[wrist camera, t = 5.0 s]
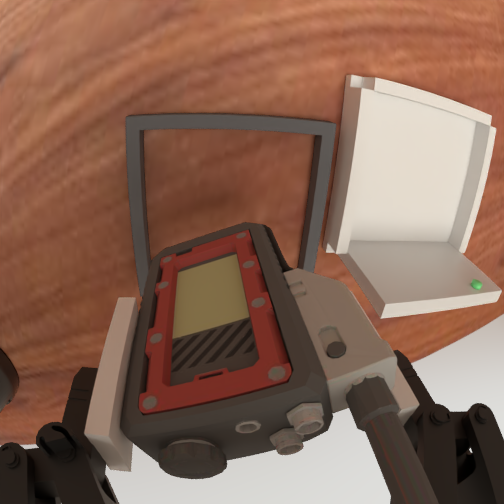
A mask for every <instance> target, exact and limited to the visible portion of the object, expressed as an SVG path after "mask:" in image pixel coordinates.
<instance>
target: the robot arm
mask: <svg viewBox="0 0 504 504" xmlns="http://www.w3.org/2000/svg"><path fill="white" fill-rule="evenodd" d="M350 292H351V293H352V291H350ZM352 295H353V296H354V294H353V293H352ZM354 298H355V296H354ZM355 300H356V301H357V299H356V298H355ZM357 303H358V304H359V302H358V301H357ZM359 306H360V307H361V305H360V304H359ZM361 309H362V307H361ZM362 311H363V312H364V310H363V309H362ZM364 314H365V315H366V313H365V312H364ZM138 317H139V314H138V308H137V302H136V297H119V298H118V301H117V304H116V307H115V311H114V314H113V317H112V321H111V324H110V327H109V331H108V334H107V338H106V342H105V345H104V349H103V353H102V356H101V360H100V364H99V368H88V367H82V368H81V369H80V370H79V372H78V373H77V374H76V375H75V377H74V379H73V383H72V386H71V391H70V393H69V397H68V398H69V400H68V401H67V404H66V408H65V412H64V416H63V420H62V423H60V422H51V423H48V424H46V425H44V426H43V427H42V428H41V429H40V430H39V431H38V434H37V436H36V445H37V446H38V447H39V448H34V449H24V448H23V447H21V446H20V445H19V444H17V443H13V442H10V443H5V444H4V445H2V446H1V447H0V504H61V503H62V504H119V502H118V500H117V498H116V496H115V494H114V491H113V489H112V487H111V484H110V482H109V480H108V478H107V476H106V475H105V468H106V465H107V466H108V467H109V468H110V469H111V470H119V471H131V460H132V446H133V442H131V441H130V440H129V439H128V438H127V437H126V436H125V435H124V433H123V432H122V430H121V429H120V422H121V414H122V407H123V400H124V393H125V386H126V380H127V374H128V368H129V362H130V356H131V351H132V345H133V340H134V335H135V333H136V326H137V323H138V321H137V320H138ZM366 317H367V319H368V320H369V318H368V316H367V315H366ZM369 322H370V323H371V321H370V320H369ZM371 325H372V327H373V328H374V326H373V324H372V323H371ZM374 330H375V331H376V329H375V328H374ZM376 333H377V331H376ZM377 335H378V336H379V334H378V333H377ZM379 338H381V337H380V336H379ZM393 352H394V354H395V355H396V357H397V367H396V376H395V385H394V387H393V389H392V390H390V391H391V393H392V395H393V397H394V398H395V400H396V402H397V404H398V406H399V411H398V414H397V415H398V417H399V419H400V421H401V423H402V425H403V427H404V429H405V431H406V433H407V435H408V437H409V439H410V441H411V443H412V445H413V448H414V450H415V452H416V454H417V456H418V458H419V460H420V463H421V465H422V467H423V469H424V471H425V473H426V476H427V478H428V480H429V482H430V485H431V487H432V489H433V491H434V494H435V496H436V498H437V500H438V503H439V504H504V439H503V437H502V434H501V432H500V429H499V427H498V424H497V422H496V419H495V417H494V414H493V412H492V411H491V409H490V408H489V407H487V406H486V405H484V404H482V403H477V404H474V405H472V406H471V408H470V409H469V410H468V411H467V412H450V411H449V410H448V409H447V408H446V407H445V406H443V405H440V404H435V402H434V401H433V399H432V398H431V396H430V394H429V393H428V391H427V389H426V388H425V386H424V384H423V383H422V381H421V380H420V378H419V376H417V373H416V371H415V370H414V369H413V366H412V365H411V363H410V362H409V360H408V358H407V357H406V356H404V355H403V354H402V353H401V352H400V351H398V350H395V351H393ZM18 386H19V380H18V376H17V373H16V371H15V369H14V367H13V365H12V364H11V362H10V361H9V359H8V358H7V357H6V355H5V354H4V353H3V352H2V351H1V350H0V412H1V411H2V409H3V408H4V406H5V405H6V404H9V403H10V402H11V401H12V400H13V398H14V396H15V394H16V391H17V389H18ZM470 448H471V449H472V453H471V452H470V451H469V449H470ZM390 504H394V502H393V500H392V497H391V501H390Z"/></svg>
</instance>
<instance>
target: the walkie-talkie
mask: <svg viewBox="0 0 504 504" xmlns="http://www.w3.org/2000/svg"><path fill="white" fill-rule="evenodd" d="M149 268H150V269H149V271H148V276H147V281H146V283H145V285H146V286H145V288H144V294H143V296H142V302H141V304H140V305H141V308H140V310H139V317H138V320H137V321H138V323H137V326H136V333H135V335H134V340H133V345H132V351H131V356H130V362H129V368H128V374H127V380H126V386H125V393H124V400H123V407H122V414H121V422H120V429H121V430H122V432H123V433H124V435H125V436H126V437H127V438H128V439H129V440H130V441H131V442H133V443H134V444H135V445H136V446H137V447H139V448H140V449H141V450H143V451H144V452H145V453H146V454H148V455H149V456H150V457H152V458H153V459H154V460H156V461H157V462H158V463H159V466H160V468H161V469H163V470H164V471H165V472H166V473H168V474H170V475H172V476H176V477H180V478H188V479H204V478H210V477H213V476H215V475H217V474H220V473H222V472H223V470H225V469H226V467H227V460H231V459H236V458H241V457H246V456H251V455H255V454H259V453H264V452H268V451H272V450H277V452H278V454H280V455H289V454H293V453H296V452H298V451H300V450H302V449H303V443H302V442H305V441H308V440H310V439H312V438H314V437H316V436H318V435H320V434H322V433H324V432H326V431H328V429H329V426H330V424H331V421H332V419H333V414H332V413H335V412H338V411H341V410H344V409H347V408H349V409H350V411H351V413H352V416H353V418H354V421H355V423H356V426H357V428H358V429H360V430H362V431H365V432H366V434H367V437H368V439H369V442H370V444H371V447H372V449H373V451H374V454H375V457H376V459H377V461H378V464H379V466H380V469H381V472H382V474H383V477H384V479H385V482H386V484H387V487H388V489H389V492H390V494H391V497H392V500H393V502H394V504H439V503H438V500H437V498H436V496H435V494H434V491H433V489H432V487H431V485H430V482H429V480H428V478H427V476H426V473H425V471H424V469H423V467H422V465H421V463H420V460H419V458H418V456H417V454H416V452H415V450H414V448H413V445H412V443H411V441H410V439H409V437H408V435H407V433H406V431H405V429H404V427H403V425H402V423H401V421H400V419H399V417H398V415H397V414H398V411H399V406H398V404H397V402H396V400H395V398H394V397H393V395H392V393H391V391H390V390H392V389H393V387H394V385H395V376H396V367H397V357H396V355H395V354H394V352H393V350H392V349H391V347H390V345H389V344H388V342H387V341H385V340H383V339H381V338H379V336H378V335H377V333H376V331H375V330H374V328H373V327H372V325H371V323H370V322H369V320H368V319H367V317H366V315H365V314H364V312H363V311H362V309H361V307H360V306H359V304H358V303H357V301H356V300H355V298H354V296H353V295H352V293H351V292H350V290H349V289H348V287H347V286H346V285H345V284H344V283H342V282H341V281H338V280H335V279H331V278H328V277H325V276H321V275H318V274H315V273H312V272H308V271H305V270H304V269H303V270H302V269H299V268H296V269H293V268H291V267H289V266H288V265H287V263H286V261H285V259H284V257H283V255H282V253H281V251H280V248H279V246H278V244H277V242H276V239H275V237H274V235H273V233H272V230H271V229H270V228H269V227H267V226H266V225H263V224H255V223H247V222H244V223H241V224H238V225H235V226H232V227H229V228H226V229H222V230H219V231H216V232H213V233H210V234H207V235H204V236H201V237H198V238H195V239H192V240H189V241H186V242H183V243H180V244H177V245H174V246H171V247H168V248H165V249H164V250H163V251H161V252H160V253H159V254H158V255H157V256H155V257H154V258H153V259H152V260H151V264H150V266H149Z"/></svg>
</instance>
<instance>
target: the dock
mask: <svg viewBox="0 0 504 504" xmlns="http://www.w3.org/2000/svg"><path fill="white" fill-rule="evenodd" d="M491 118H492V116H491V115H488V114H486V113H484V112H481V111H479V110H476V109H474V108H471V107H469V106H466V105H464V104H461V103H458V102H456V101H453V100H450V99H447V98H445V97H442V96H439V95H436V94H433V93H430V92H426V91H423V90H420V89H417V88H413V87H410V86H407V85H403V84H399V83H396V82H392V81H388V80H384V79H380V78H376V77H360V76H355V75H346V82H345V92H344V102H343V111H342V120H341V128H340V136H339V144H338V151H337V159H336V166H335V173H334V180H333V186H332V193H331V199H330V205H329V212H328V218H327V223H326V229H325V235H324V241H323V246H322V247H323V249H324V251H325V252H326V253H336V254H338V256H339V257H340V258H341V260H342V261H343V263H344V264H345V266H346V267H347V269H348V270H349V272H350V273H351V275H352V276H353V277H354V279H355V280H356V282H357V283H358V285H359V286H360V288H361V289H362V291H363V292H364V294H365V295H366V297H367V298H368V300H369V302H370V303H371V305H372V306H373V308H374V309H375V311H376V312H377V314H378V315H379V317H380V318H389V317H398V316H407V315H415V314H422V313H430V312H437V311H444V310H450V309H457V308H463V307H469V306H475V305H481V304H487V303H493V302H497V300H498V298H499V296H500V294H501V291H502V290H501V289H500V288H499V287H498V286H497V285H496V284H495V283H494V282H493V281H492V280H491V279H490V278H488V277H487V276H486V275H485V274H484V273H483V272H482V271H481V270H480V269H479V268H478V267H476V266H475V265H474V264H473V263H472V262H471V261H470V260H469V259H467V258H466V257H465V256H464V255H463V254H462V253H465V250H466V247H467V244H468V241H469V238H470V235H471V232H472V229H473V226H474V223H475V219H476V216H477V213H478V209H479V206H480V202H481V198H482V195H483V191H484V187H485V183H486V179H487V174H488V170H489V165H490V161H491V156H492V151H493V145H494V140H495V134H496V128H494V127H491V126H490V125H491Z"/></svg>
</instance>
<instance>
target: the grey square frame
mask: <svg viewBox="0 0 504 504" xmlns="http://www.w3.org/2000/svg"><path fill="white" fill-rule="evenodd" d="M153 129H241V130H262V131H278V132H292V133H303V134H314V135H316V136H315V145H314V154H313V162H312V170H311V178H310V186H309V194H308V201H307V209H306V216H305V223H304V230H303V237H302V243H301V250H300V257H299V263H298V268H299V269H302V270H303V269H304V270H305V271H308V272H312V273H314V268H315V262H316V257H317V251H318V246H319V240H320V234H321V228H322V222H323V216H324V210H325V204H326V197H327V190H328V184H329V177H330V170H331V163H332V155H333V147H334V140H335V131H336V124H335V123H332V122H329V121H322V120H313V119H303V118H293V117H282V116H268V115H252V114H227V113H167V114H142V115H130V116H127V117H126V156H127V176H128V192H129V205H130V216H131V227H132V236H133V245H134V254H135V262H136V269H137V276H138V283H139V290H140V296H143V294H144V288H145V286H146V285H145V283H146V281H147V276H148V271H149V269H150V268H149V266H150V264H151V258H150V248H149V237H148V224H147V210H146V194H145V173H144V130H153Z"/></svg>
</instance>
